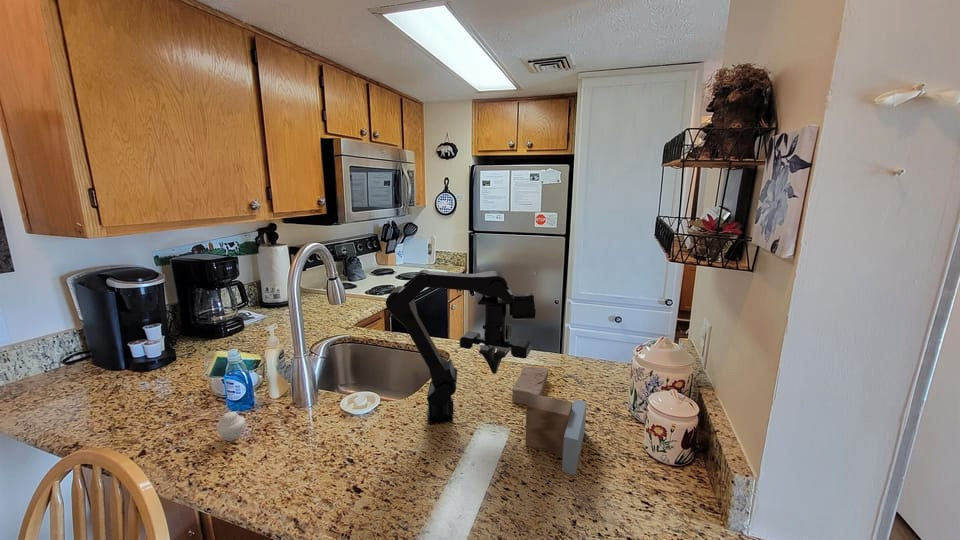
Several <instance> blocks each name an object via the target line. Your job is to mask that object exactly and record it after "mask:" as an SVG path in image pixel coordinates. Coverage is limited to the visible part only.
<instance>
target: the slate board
mask: <svg viewBox="0 0 960 540" xmlns="http://www.w3.org/2000/svg"><path fill="white" fill-rule="evenodd" d="M573 400H574V401H573V403H572V411H571V414H570V417H569V421H568V424H567V428H566V431H565V435H564V444H563V455H562V462H561V472H563V473H565V474H570V475H574V476H576V474H577V470H578V465H579V460H580V456H581V451H582V446H583V442H584V437H585V431H586V417H587V416H586V414H587V404H588V402H587V401H585V400H579V399H573Z"/></svg>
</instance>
